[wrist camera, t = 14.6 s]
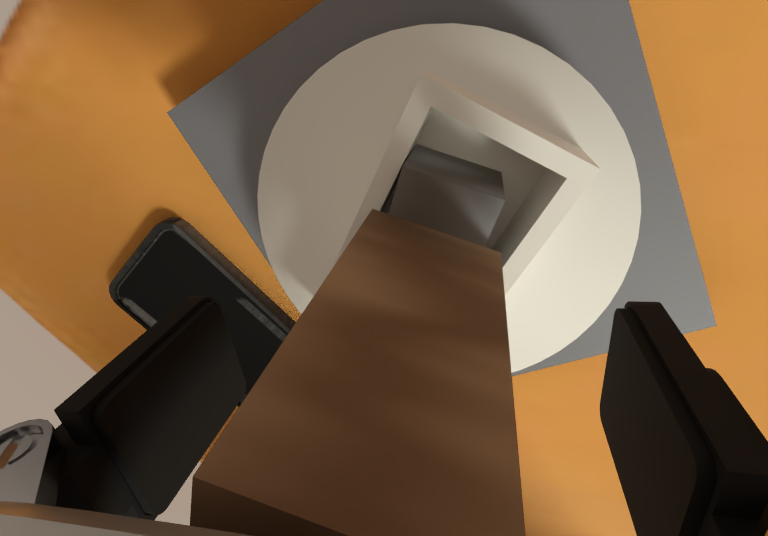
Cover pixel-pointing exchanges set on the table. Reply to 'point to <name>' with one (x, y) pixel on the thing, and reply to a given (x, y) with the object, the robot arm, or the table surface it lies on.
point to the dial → (469, 142)
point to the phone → (200, 292)
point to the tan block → (386, 384)
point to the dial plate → (500, 12)
